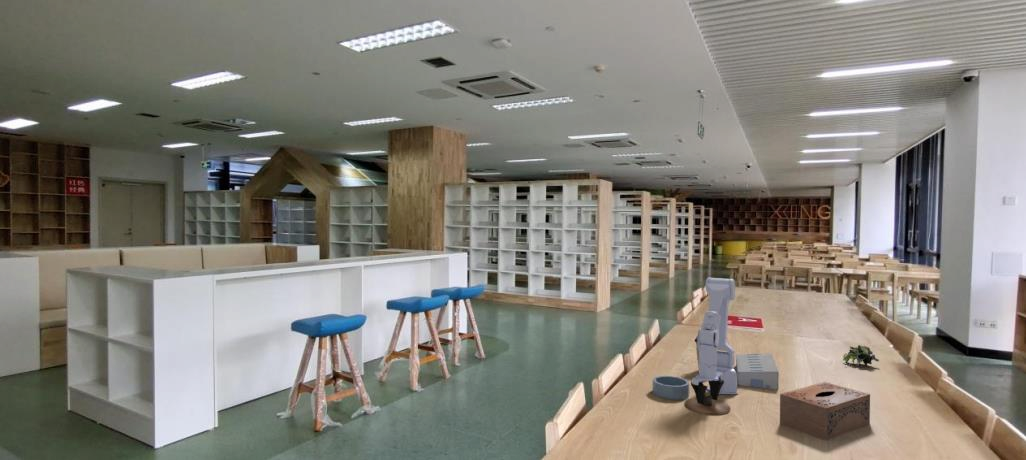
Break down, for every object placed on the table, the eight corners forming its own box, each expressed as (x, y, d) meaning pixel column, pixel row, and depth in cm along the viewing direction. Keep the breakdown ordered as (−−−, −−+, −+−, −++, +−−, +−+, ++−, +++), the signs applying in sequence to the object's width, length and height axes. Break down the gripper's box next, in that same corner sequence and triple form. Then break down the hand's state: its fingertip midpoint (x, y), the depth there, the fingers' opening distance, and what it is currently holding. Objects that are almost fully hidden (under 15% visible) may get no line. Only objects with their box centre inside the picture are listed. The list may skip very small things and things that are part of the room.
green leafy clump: (864, 376, 233) (884, 358, 228) (856, 376, 226) (876, 357, 222) (843, 358, 241) (861, 340, 236) (835, 357, 234) (853, 338, 230)
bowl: (680, 388, 198) (680, 375, 198) (694, 399, 185) (694, 386, 185) (648, 388, 197) (648, 376, 197) (660, 400, 184) (660, 386, 184)
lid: (719, 400, 185) (719, 389, 185) (738, 415, 170) (738, 403, 170) (678, 400, 185) (679, 389, 185) (694, 415, 170) (694, 403, 170)
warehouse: (736, 366, 230) (736, 350, 230) (771, 370, 224) (771, 353, 224) (738, 385, 202) (738, 367, 202) (778, 390, 197) (778, 371, 196)
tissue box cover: (825, 441, 151) (826, 408, 150) (779, 424, 163) (780, 393, 163) (869, 424, 163) (870, 394, 163) (823, 410, 176) (824, 381, 176)
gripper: (704, 369, 170) (704, 409, 170) (730, 363, 178) (729, 401, 178) (687, 364, 176) (686, 402, 176) (712, 358, 184) (712, 395, 184)
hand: (707, 401), depth 178 cm, fingers open, 7 cm apart
